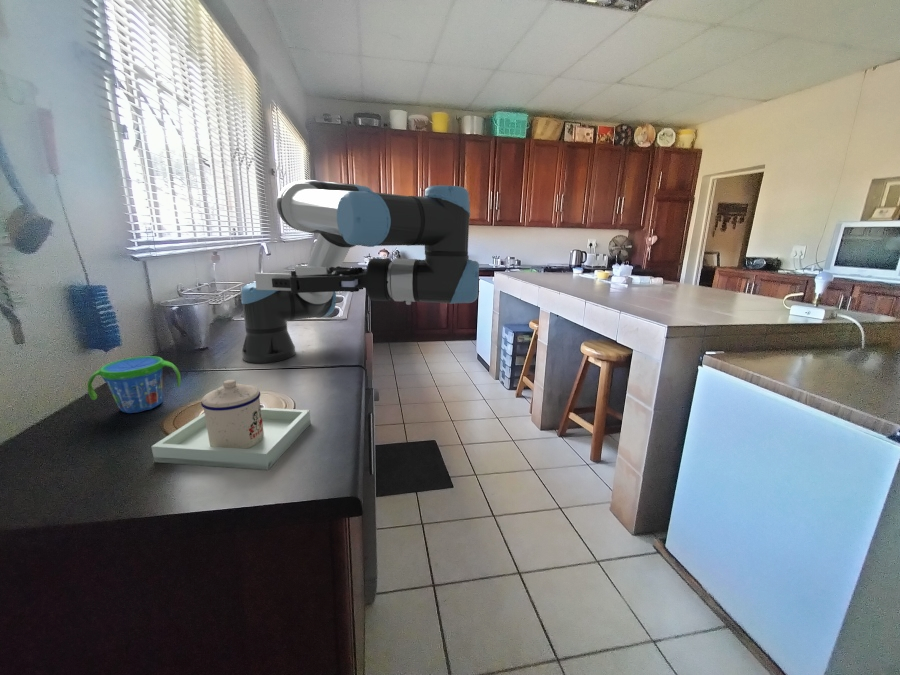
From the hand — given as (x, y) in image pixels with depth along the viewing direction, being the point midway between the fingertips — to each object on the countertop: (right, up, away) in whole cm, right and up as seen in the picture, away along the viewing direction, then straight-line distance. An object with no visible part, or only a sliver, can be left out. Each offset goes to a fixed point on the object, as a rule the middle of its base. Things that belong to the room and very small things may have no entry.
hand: (278, 276), depth 69 cm
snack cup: (-37, -27, +15) cm, 48 cm away
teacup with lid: (-8, -30, +1) cm, 31 cm away
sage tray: (-8, -31, +2) cm, 32 cm away
